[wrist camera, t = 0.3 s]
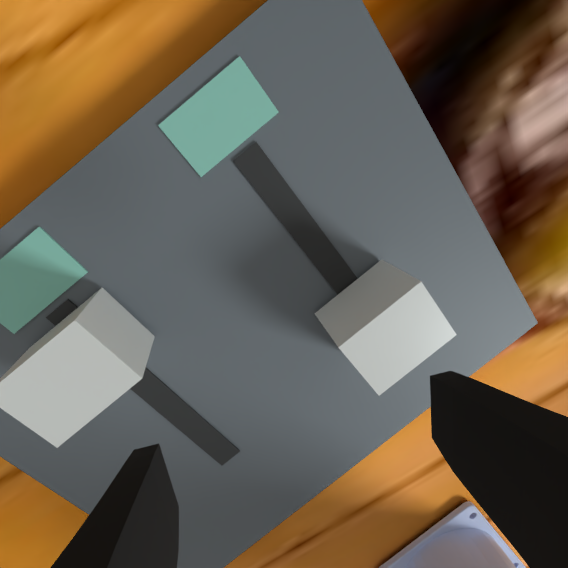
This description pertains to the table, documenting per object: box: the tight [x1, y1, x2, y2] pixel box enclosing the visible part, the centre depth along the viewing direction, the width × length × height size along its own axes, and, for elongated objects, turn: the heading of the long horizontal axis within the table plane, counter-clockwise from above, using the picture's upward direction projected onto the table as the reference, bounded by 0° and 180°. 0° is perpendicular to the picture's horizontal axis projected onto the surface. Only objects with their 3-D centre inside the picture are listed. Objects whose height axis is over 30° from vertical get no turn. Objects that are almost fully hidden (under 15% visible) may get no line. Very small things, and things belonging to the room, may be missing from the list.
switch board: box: [0, 0, 538, 568], centre depth 18 cm, size 20×24×1 cm
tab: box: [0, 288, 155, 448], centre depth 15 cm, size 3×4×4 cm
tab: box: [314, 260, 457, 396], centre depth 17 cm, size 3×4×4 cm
